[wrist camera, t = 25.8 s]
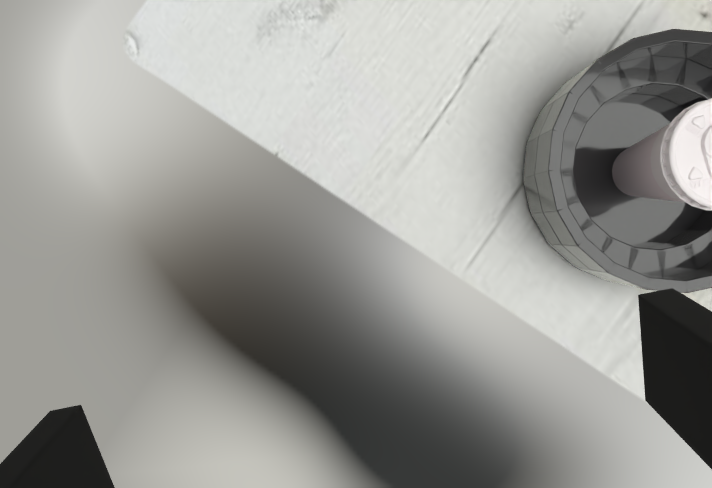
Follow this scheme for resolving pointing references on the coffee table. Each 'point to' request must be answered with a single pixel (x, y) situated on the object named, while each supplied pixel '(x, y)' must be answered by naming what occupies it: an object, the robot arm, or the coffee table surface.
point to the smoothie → (672, 161)
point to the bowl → (596, 158)
